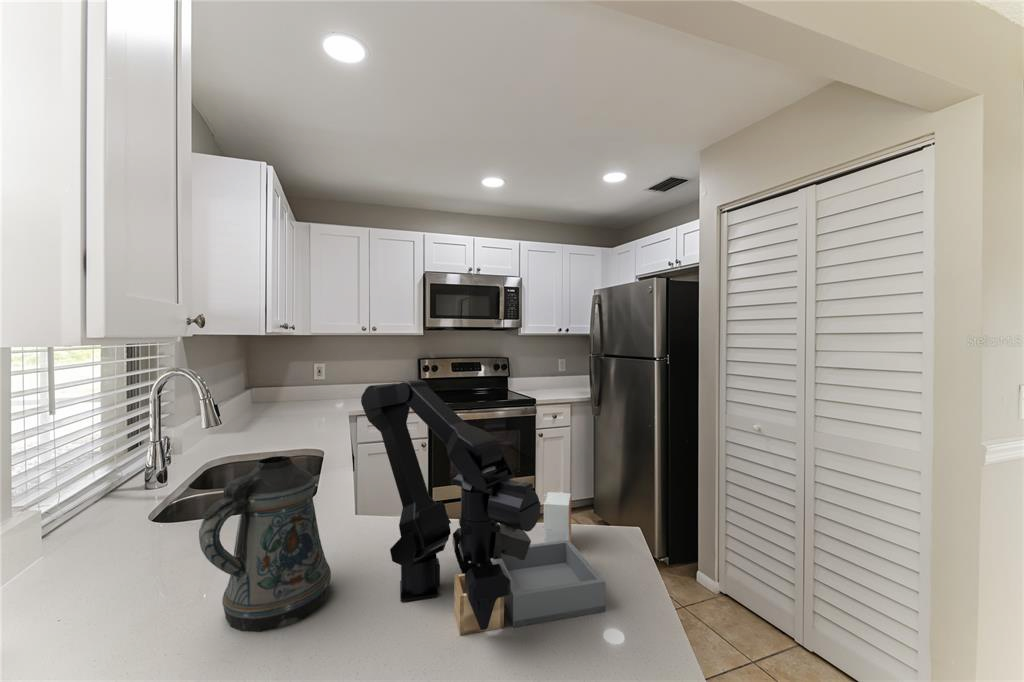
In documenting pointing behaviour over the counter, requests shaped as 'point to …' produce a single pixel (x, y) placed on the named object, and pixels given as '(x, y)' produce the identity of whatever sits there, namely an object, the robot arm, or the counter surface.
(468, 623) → the oak crate
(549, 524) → the small box
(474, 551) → the robot arm
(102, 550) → the counter surface
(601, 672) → the counter surface
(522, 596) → the slate gray crate
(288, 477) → the beer stein
